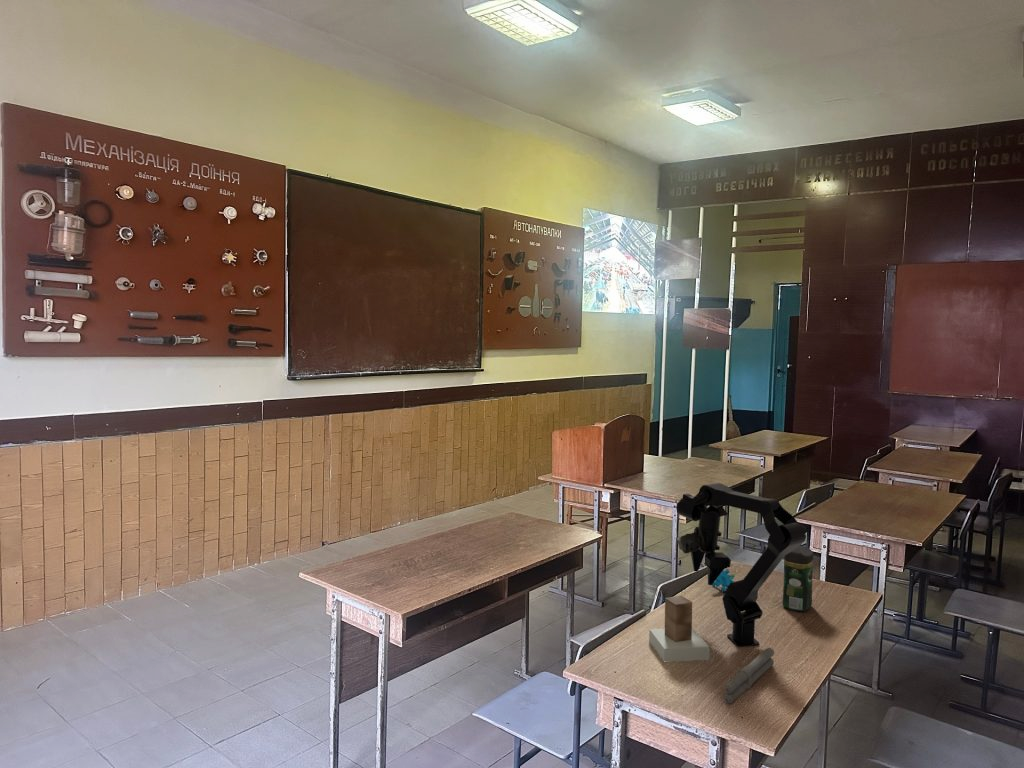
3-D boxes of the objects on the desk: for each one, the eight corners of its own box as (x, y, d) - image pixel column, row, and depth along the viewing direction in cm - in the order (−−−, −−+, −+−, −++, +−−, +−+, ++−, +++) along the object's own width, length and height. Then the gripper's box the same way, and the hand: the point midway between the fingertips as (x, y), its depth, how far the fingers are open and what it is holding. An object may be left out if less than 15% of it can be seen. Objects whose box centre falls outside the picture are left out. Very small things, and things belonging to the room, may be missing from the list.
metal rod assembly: (764, 664, 177) (764, 645, 177) (775, 667, 176) (775, 648, 175) (721, 703, 158) (721, 682, 158) (732, 707, 156) (733, 686, 156)
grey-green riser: (709, 662, 179) (709, 647, 178) (663, 664, 177) (664, 648, 177) (691, 641, 191) (692, 627, 190) (649, 643, 189) (649, 629, 189)
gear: (720, 590, 224) (707, 562, 230) (709, 599, 227) (696, 571, 233) (744, 589, 229) (730, 562, 235) (732, 598, 233) (718, 570, 239)
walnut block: (680, 631, 187) (681, 595, 187) (691, 639, 183) (692, 602, 182) (664, 634, 185) (665, 598, 185) (675, 642, 181) (676, 604, 180)
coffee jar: (788, 599, 222) (790, 541, 221) (814, 605, 217) (816, 546, 216) (778, 608, 214) (781, 548, 213) (805, 614, 209) (808, 554, 208)
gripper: (669, 515, 207) (663, 564, 209) (697, 539, 189) (690, 593, 191) (704, 515, 209) (698, 564, 211) (734, 538, 191) (728, 592, 193)
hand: (702, 577), depth 202 cm, fingers open, 9 cm apart
